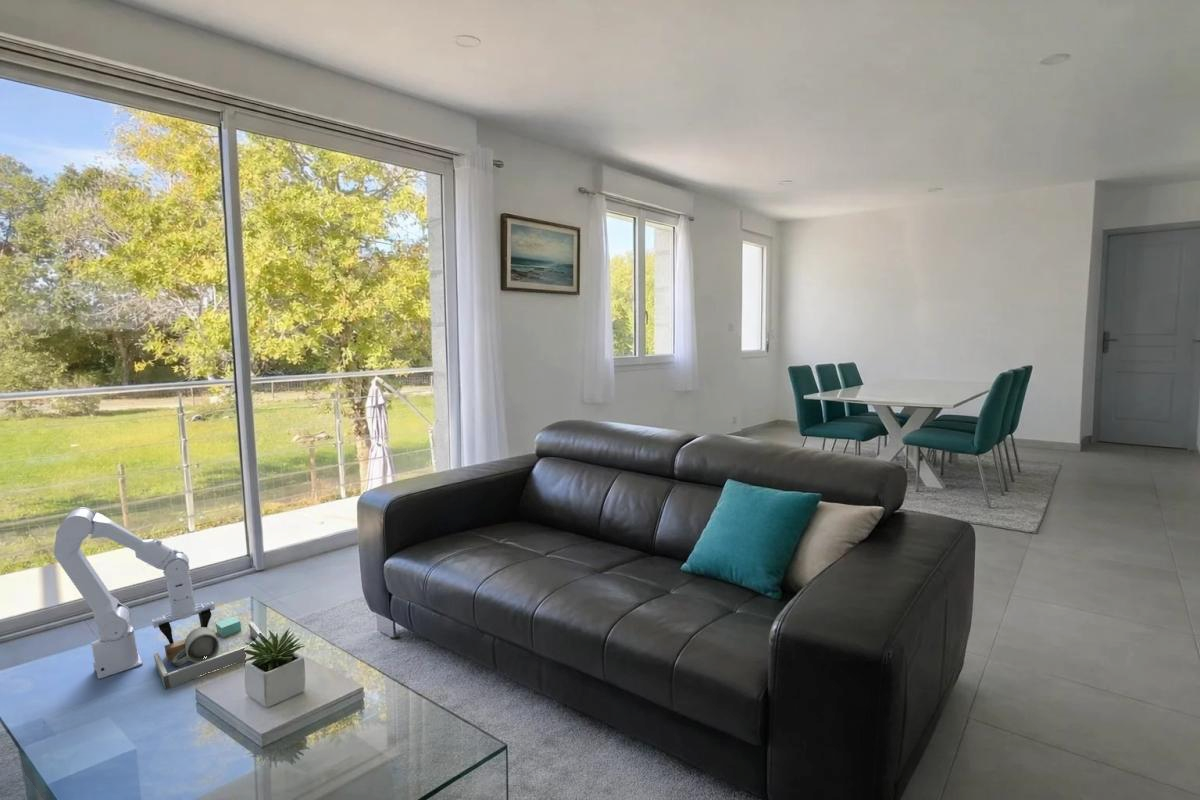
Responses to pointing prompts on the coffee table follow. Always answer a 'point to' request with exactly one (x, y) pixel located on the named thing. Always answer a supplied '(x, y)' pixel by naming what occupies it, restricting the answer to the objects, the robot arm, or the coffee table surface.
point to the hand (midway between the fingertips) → (188, 641)
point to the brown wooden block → (176, 648)
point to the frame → (202, 664)
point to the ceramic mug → (198, 646)
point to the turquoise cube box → (228, 626)
